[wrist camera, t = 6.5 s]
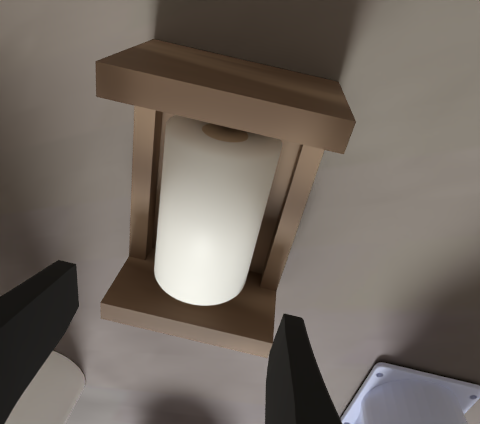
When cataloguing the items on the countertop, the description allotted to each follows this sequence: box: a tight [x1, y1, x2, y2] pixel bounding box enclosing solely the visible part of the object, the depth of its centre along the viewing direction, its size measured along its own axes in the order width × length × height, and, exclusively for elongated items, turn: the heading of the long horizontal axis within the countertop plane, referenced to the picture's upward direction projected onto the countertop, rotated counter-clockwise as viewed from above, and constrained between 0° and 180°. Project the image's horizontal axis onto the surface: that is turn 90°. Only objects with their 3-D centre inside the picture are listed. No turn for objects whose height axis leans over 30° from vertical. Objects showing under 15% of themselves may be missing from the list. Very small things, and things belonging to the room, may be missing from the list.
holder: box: [96, 39, 356, 358], centre depth 18 cm, size 13×9×6 cm
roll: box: [154, 115, 282, 306], centre depth 18 cm, size 8×5×5 cm, turn 169°
